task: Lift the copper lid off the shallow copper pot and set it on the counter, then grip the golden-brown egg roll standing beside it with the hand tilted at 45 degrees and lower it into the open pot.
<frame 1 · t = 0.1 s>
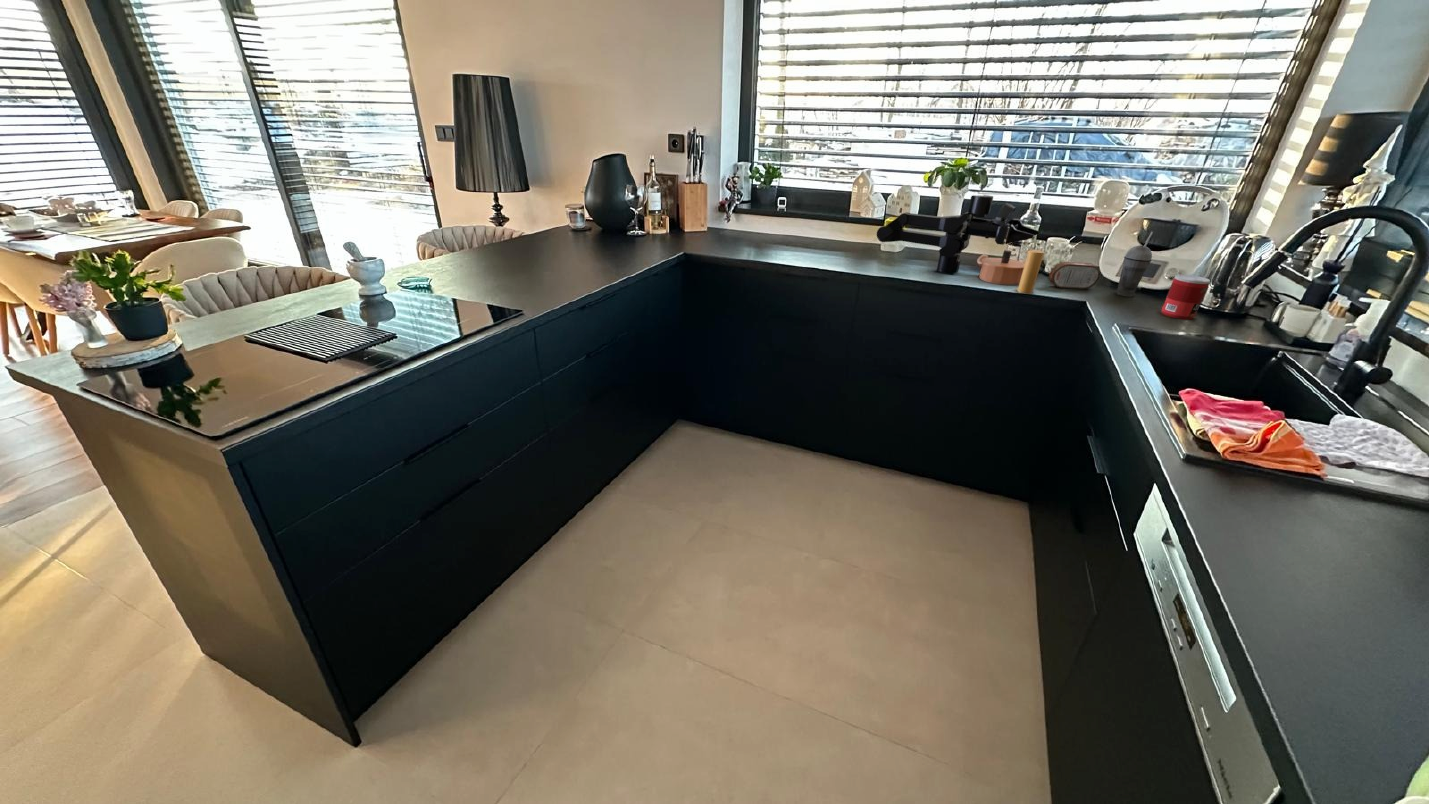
hand: (1036, 234, 181), 17 cm above the counter, tool horizontal, fingers open, 9 cm apart
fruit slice: (985, 269, 207), on the counter
beverage cup: (1124, 295, 180), on the counter
eggroll: (1024, 291, 181), on the counter
canned food: (1176, 316, 162), on the counter
pot: (1000, 279, 194), on the counter
tin: (1070, 288, 186), on the counter
lid: (1004, 263, 191), point 5 cm above the counter, touching pot
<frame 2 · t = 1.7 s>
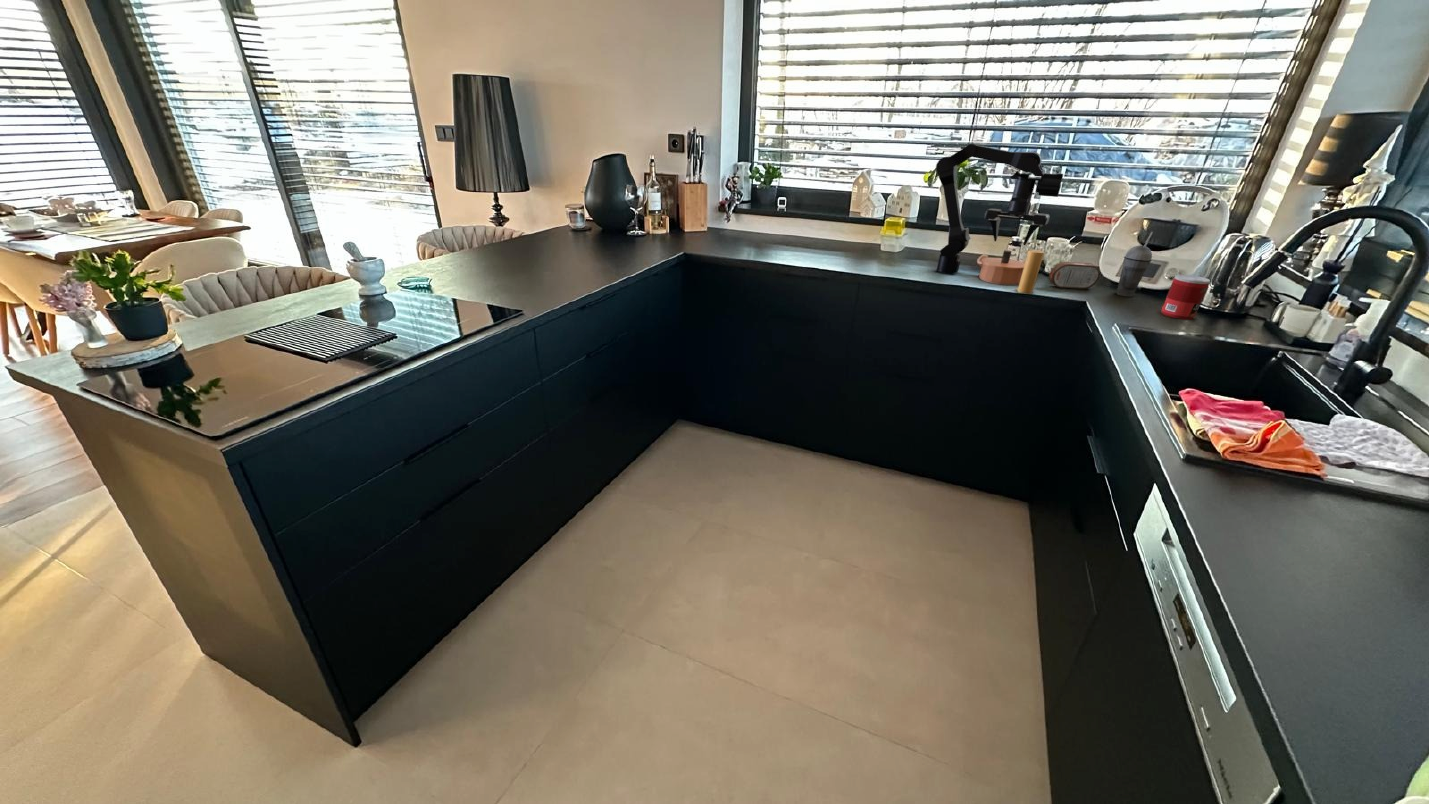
hand: (1009, 243, 188), 13 cm above the counter, tool pointing down, fingers open, 9 cm apart
nothing on the counter moved.
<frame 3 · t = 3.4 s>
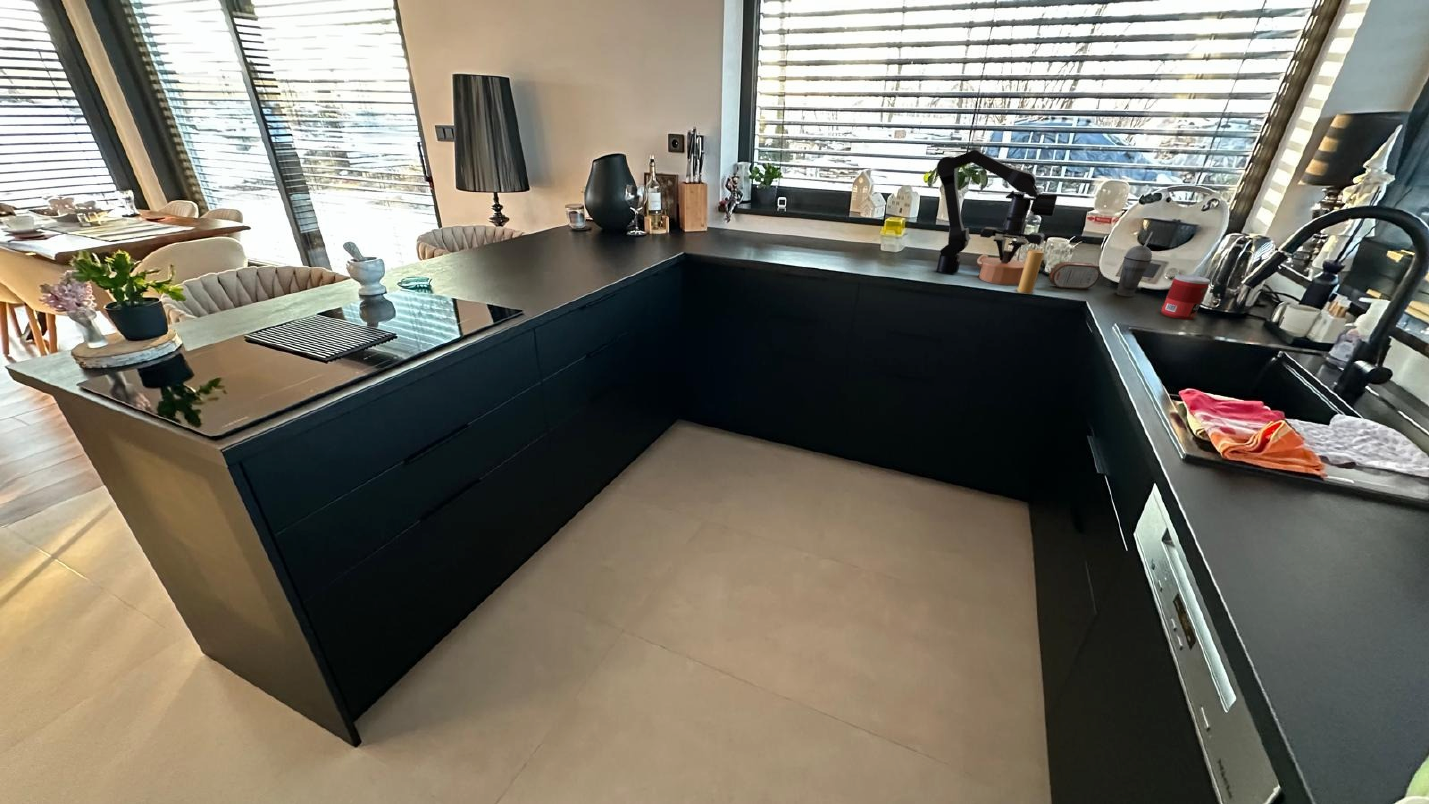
hand: (1005, 261, 191), 7 cm above the counter, tool pointing down, fingers closed on lid, 2 cm apart
lid: (1004, 263, 191), point 5 cm above the counter, touching gripper, pot
everything else where it was.
when the fingers open (2 cm above the counter, at t = 8.6 s): lid stays where it is, point 1 cm above the counter.
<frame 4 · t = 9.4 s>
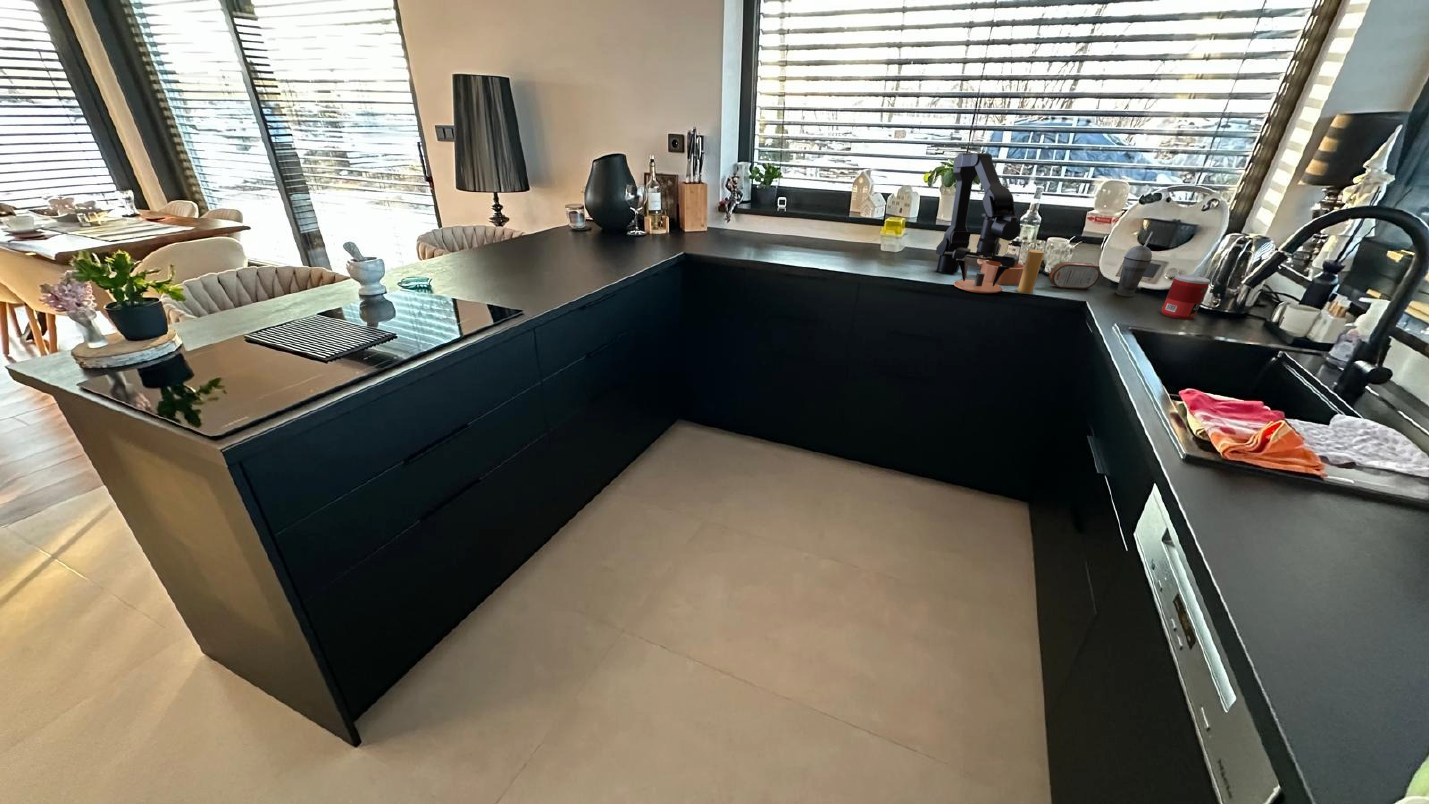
hand: (978, 283, 182), 2 cm above the counter, tool pointing down, fingers open, 9 cm apart
lid: (977, 286, 182), point 1 cm above the counter
everything else where it was.
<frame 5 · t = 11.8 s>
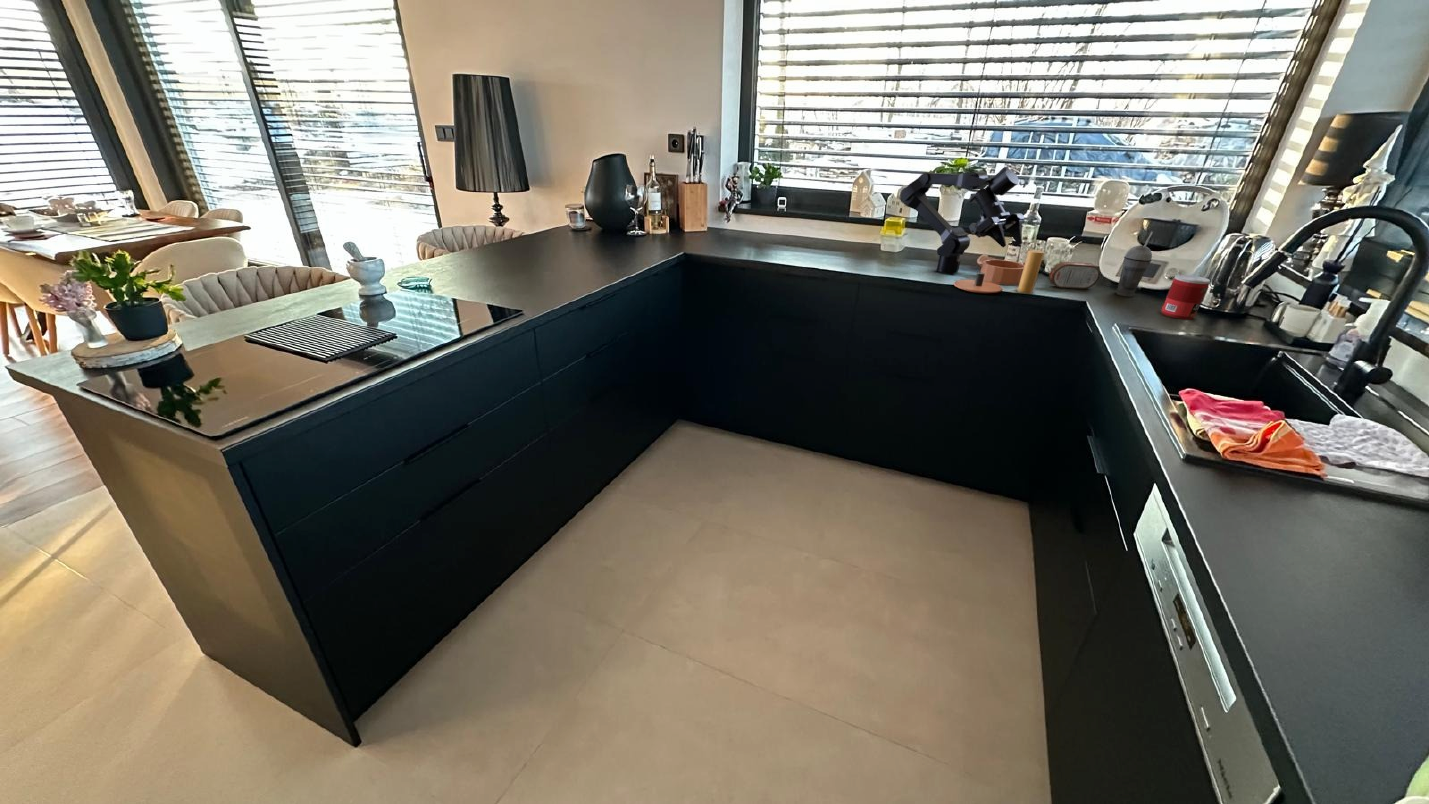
hand: (1012, 245, 180), 13 cm above the counter, tool tilted 45°, fingers open, 9 cm apart
nothing on the counter moved.
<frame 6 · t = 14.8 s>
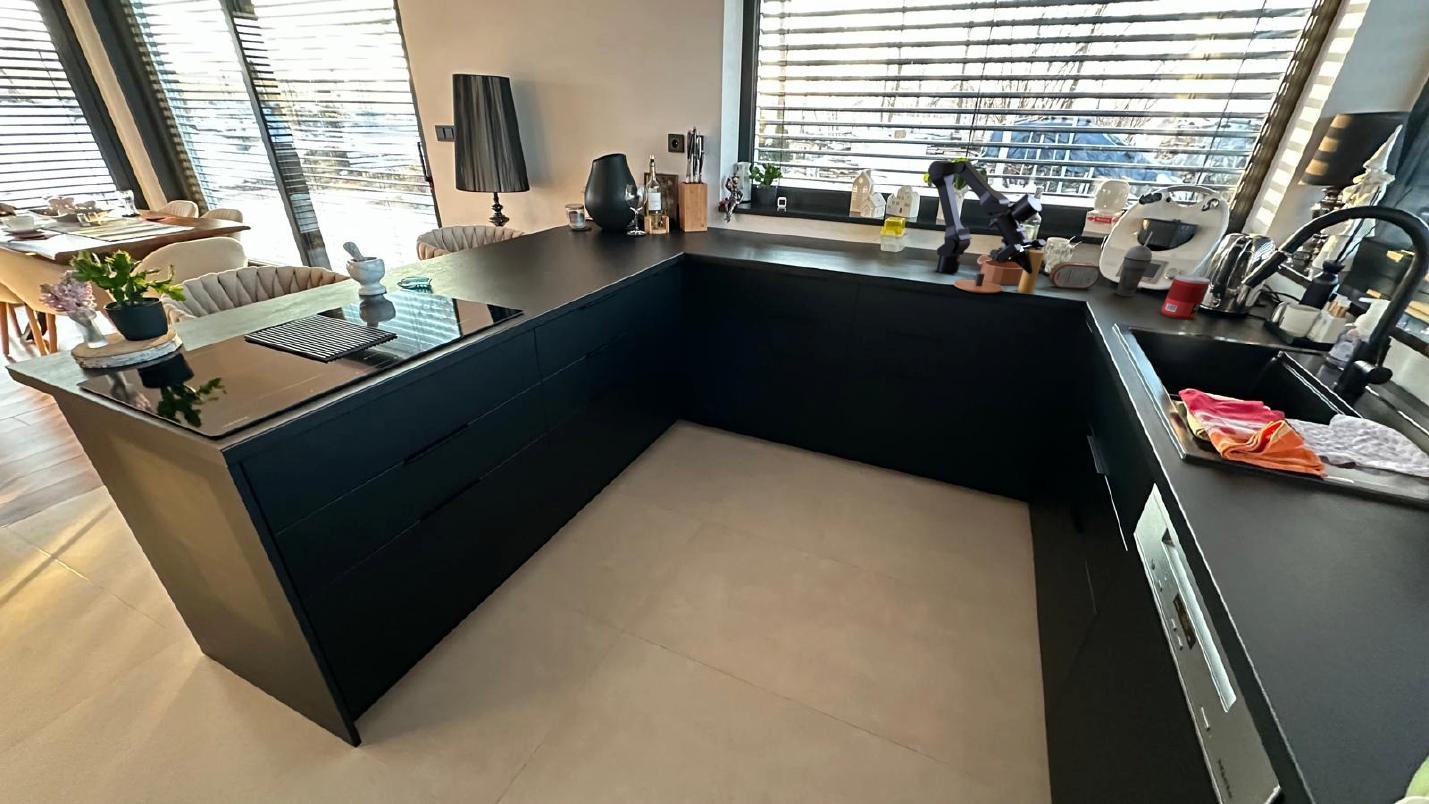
hand: (1034, 272, 177), 7 cm above the counter, tool tilted 45°, fingers closed on eggroll, 4 cm apart
eggroll: (1024, 291, 181), on the counter, touching gripper
everything else where it was.
when the fingers open (7 cm above the counter, at t = 20.5 s): eggroll stays where it is, resting on pot.
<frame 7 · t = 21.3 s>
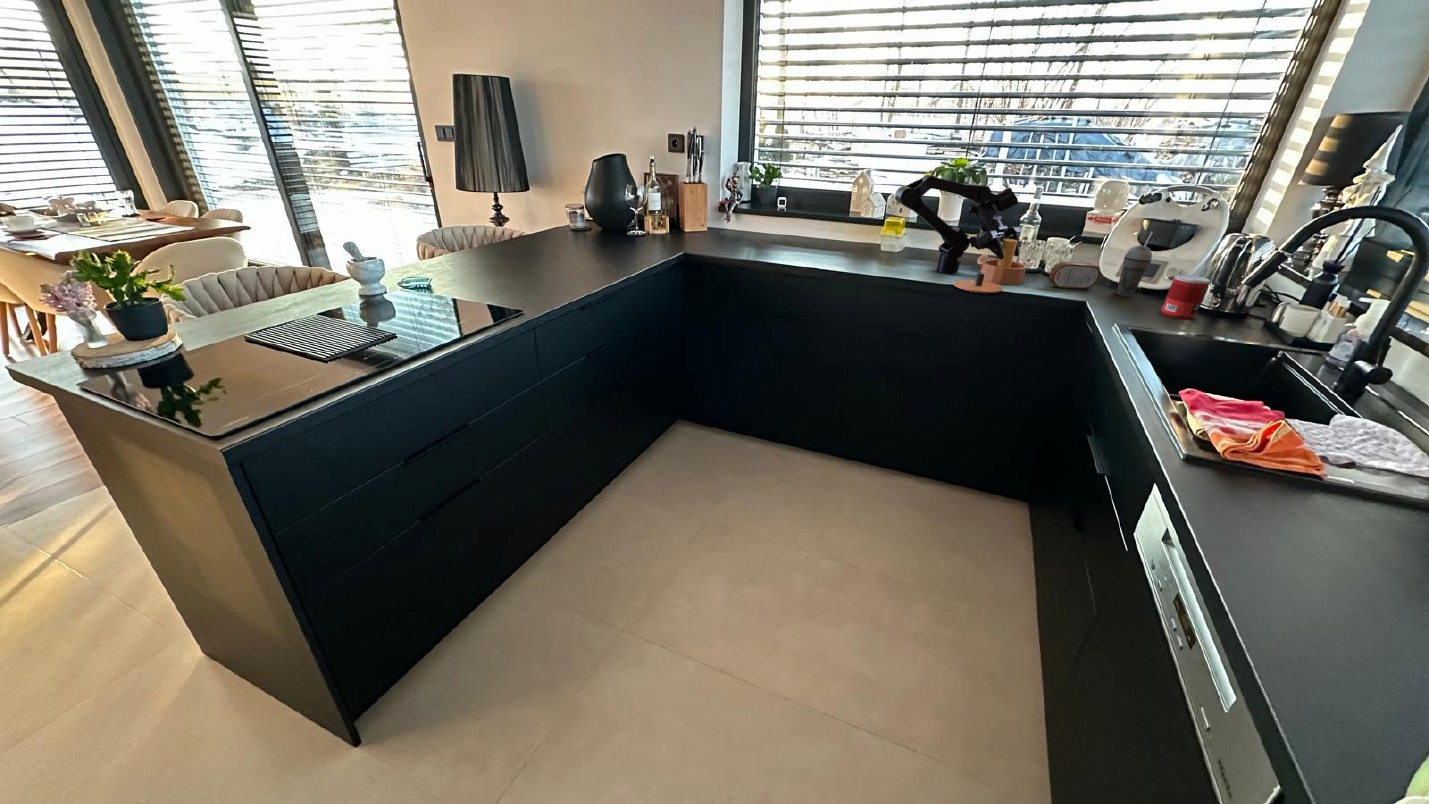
hand: (1010, 257, 189), 8 cm above the counter, tool tilted 45°, fingers open, 9 cm apart
eggroll: (1000, 278, 194), resting on pot
everything else where it was.
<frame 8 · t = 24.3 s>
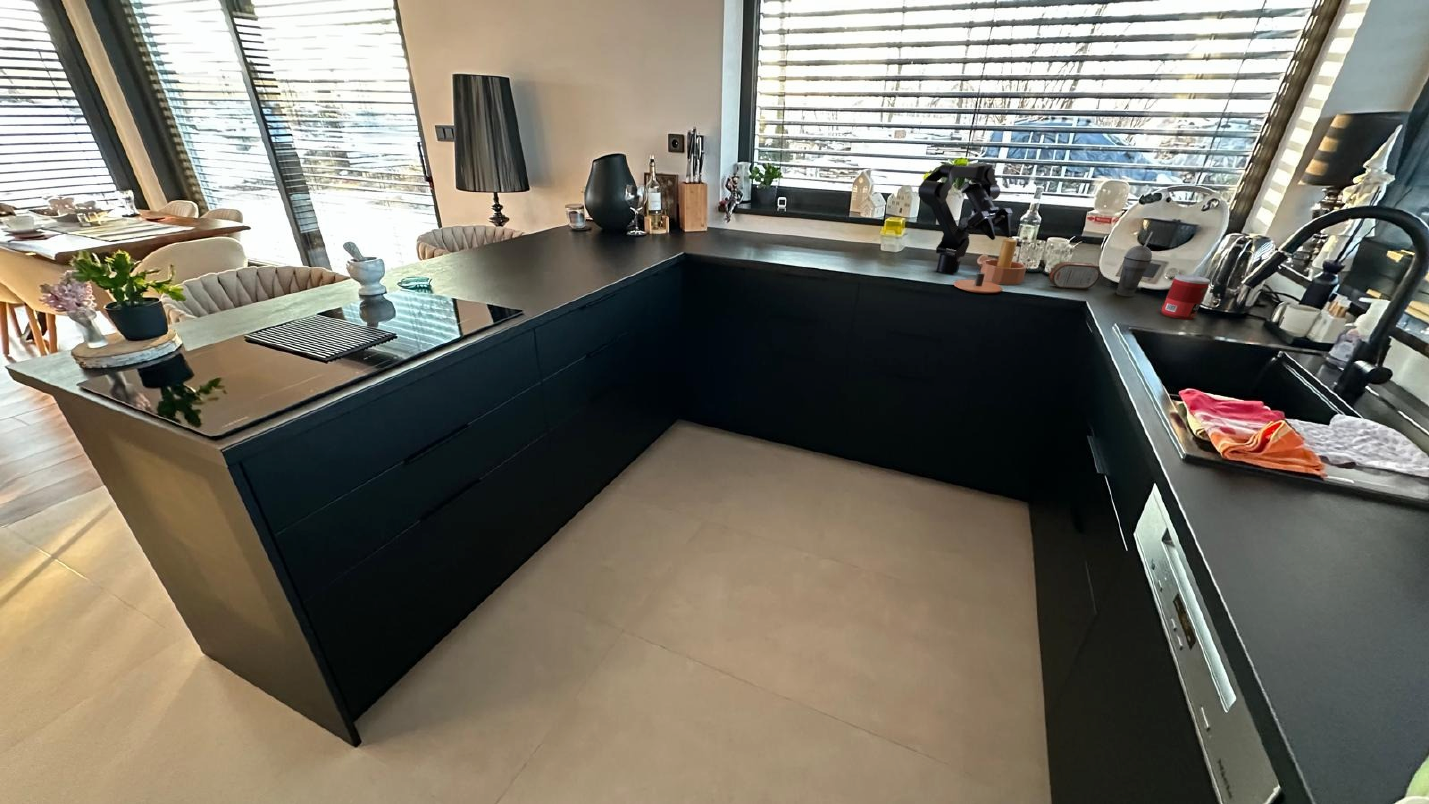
hand: (1001, 238, 190), 14 cm above the counter, tool tilted 45°, fingers open, 9 cm apart
nothing on the counter moved.
at the end: eggroll inside the target area in the pot (0.1 cm from its centre), point 0.5 cm above the pot's base; lid inside the target area (0.1 cm from its centre), point 0.6 cm above the counter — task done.
